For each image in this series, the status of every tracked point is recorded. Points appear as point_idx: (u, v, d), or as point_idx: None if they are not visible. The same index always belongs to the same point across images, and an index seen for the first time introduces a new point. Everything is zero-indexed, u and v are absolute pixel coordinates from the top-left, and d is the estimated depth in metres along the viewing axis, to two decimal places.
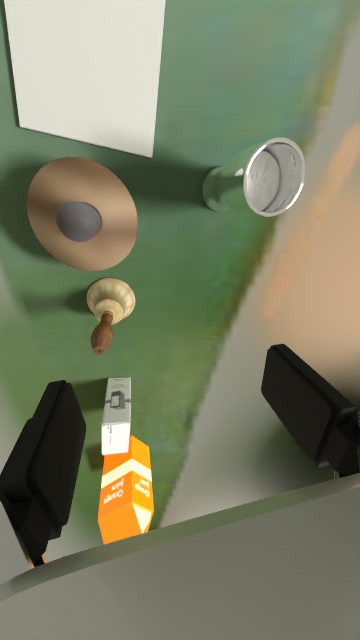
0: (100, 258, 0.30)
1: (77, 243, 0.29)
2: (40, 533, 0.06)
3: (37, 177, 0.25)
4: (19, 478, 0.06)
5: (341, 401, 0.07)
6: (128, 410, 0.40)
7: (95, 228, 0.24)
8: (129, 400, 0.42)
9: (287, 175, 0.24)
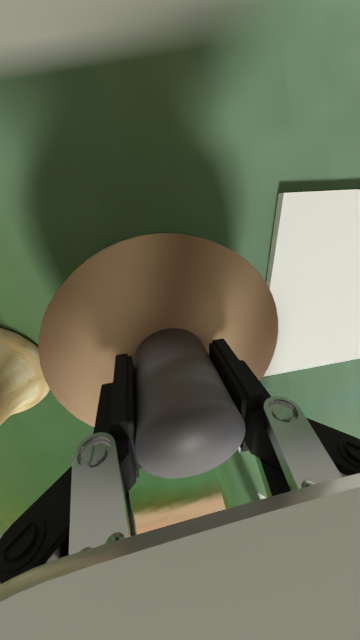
0: (91, 397, 0.12)
1: (111, 351, 0.11)
2: (133, 466, 0.07)
3: (240, 263, 0.10)
4: (121, 418, 0.07)
5: (252, 389, 0.08)
6: None
7: (185, 475, 0.09)
8: None
9: None
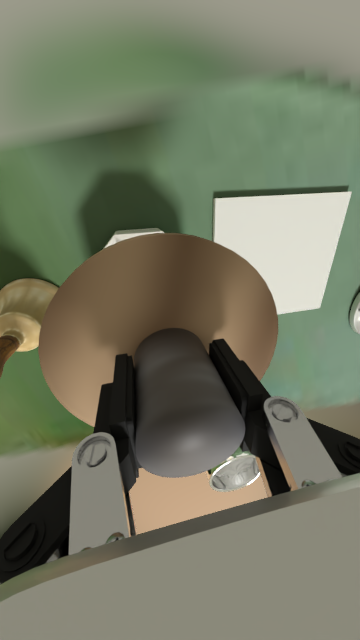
0: (91, 396, 0.12)
1: (111, 351, 0.11)
2: (133, 466, 0.07)
3: (240, 263, 0.10)
4: (121, 419, 0.07)
5: (252, 389, 0.08)
6: None
7: (185, 474, 0.09)
8: None
9: (235, 462, 0.28)
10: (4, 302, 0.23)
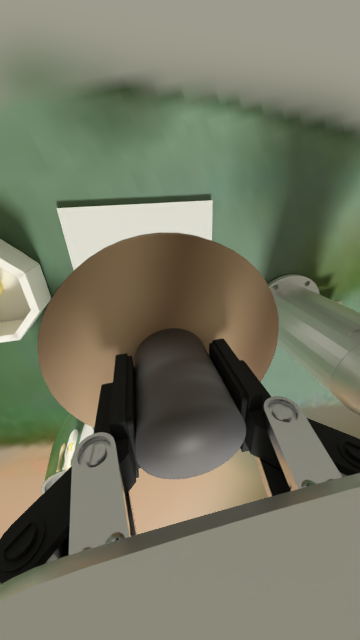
0: (91, 397, 0.12)
1: (111, 351, 0.11)
2: (133, 466, 0.07)
3: (241, 263, 0.10)
4: (121, 418, 0.07)
5: (252, 389, 0.08)
6: None
7: (185, 476, 0.09)
8: None
9: None
10: None
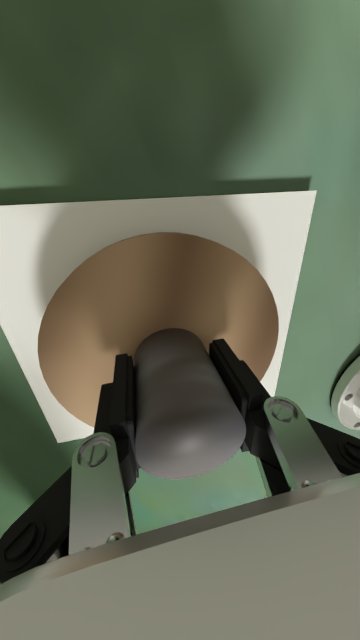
0: (91, 397, 0.12)
1: (111, 351, 0.11)
2: (133, 466, 0.07)
3: (241, 263, 0.10)
4: (121, 419, 0.07)
5: (252, 389, 0.08)
6: None
7: (185, 476, 0.09)
8: None
9: None
10: None
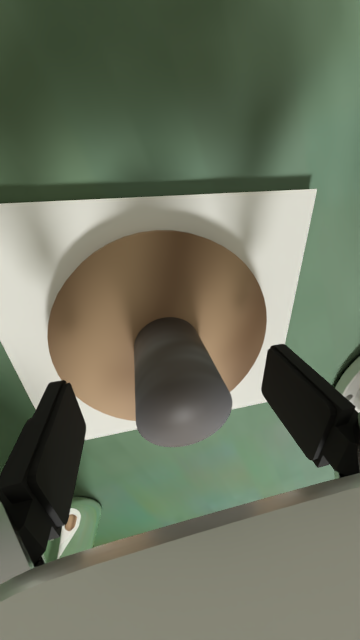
0: (95, 381, 0.13)
1: (113, 338, 0.12)
2: (40, 533, 0.06)
3: (230, 258, 0.12)
4: (19, 478, 0.06)
5: (341, 401, 0.07)
6: None
7: (179, 444, 0.10)
8: None
9: None
10: None
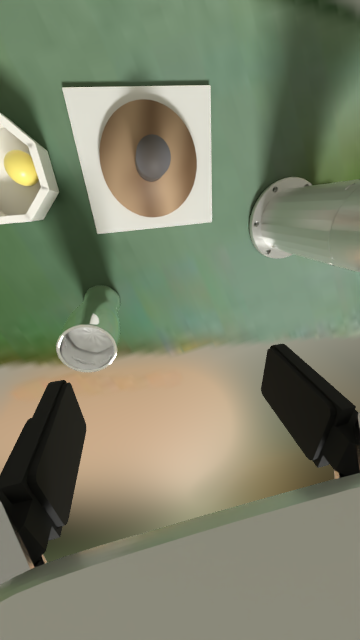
0: (118, 181, 0.30)
1: (126, 155, 0.28)
2: (40, 533, 0.06)
3: (174, 114, 0.28)
4: (19, 478, 0.06)
5: (341, 401, 0.07)
6: None
7: (152, 175, 0.26)
8: None
9: (106, 354, 0.29)
10: None
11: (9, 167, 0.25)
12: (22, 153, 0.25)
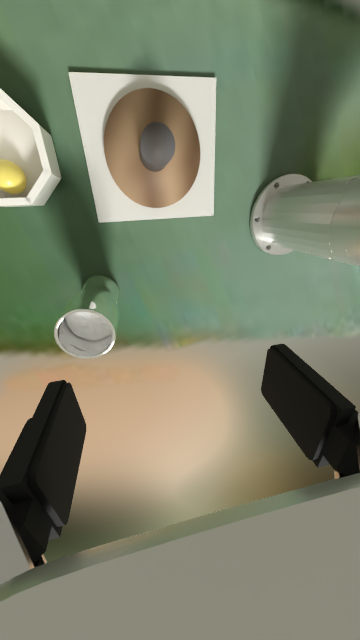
0: (121, 169, 0.30)
1: (130, 143, 0.29)
2: (40, 533, 0.06)
3: (179, 105, 0.28)
4: (19, 478, 0.06)
5: (341, 401, 0.07)
6: None
7: (156, 163, 0.26)
8: None
9: (104, 342, 0.29)
10: None
11: None
12: None
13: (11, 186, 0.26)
